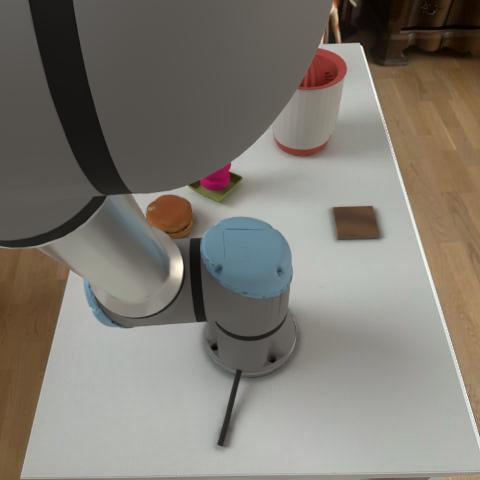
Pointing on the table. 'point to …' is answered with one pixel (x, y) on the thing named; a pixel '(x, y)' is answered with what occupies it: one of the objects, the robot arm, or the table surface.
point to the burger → (171, 215)
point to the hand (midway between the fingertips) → (140, 46)
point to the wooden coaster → (355, 222)
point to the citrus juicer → (312, 107)
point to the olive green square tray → (217, 194)
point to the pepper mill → (217, 179)
